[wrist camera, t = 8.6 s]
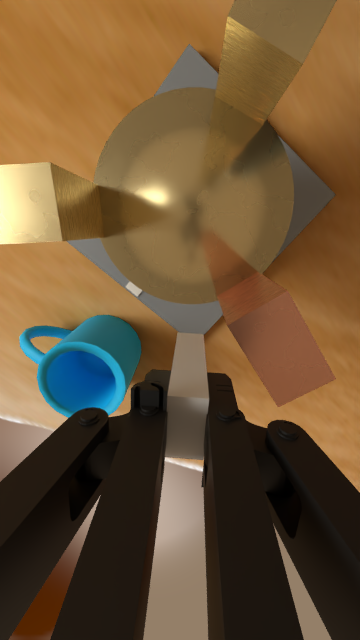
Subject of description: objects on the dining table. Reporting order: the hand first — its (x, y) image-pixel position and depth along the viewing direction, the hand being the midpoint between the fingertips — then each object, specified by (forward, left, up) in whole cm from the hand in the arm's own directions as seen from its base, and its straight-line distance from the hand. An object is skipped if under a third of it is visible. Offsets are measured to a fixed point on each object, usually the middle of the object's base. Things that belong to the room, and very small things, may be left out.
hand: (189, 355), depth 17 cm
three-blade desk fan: (-6, -3, -6) cm, 9 cm away
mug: (+12, -5, -16) cm, 20 cm away
